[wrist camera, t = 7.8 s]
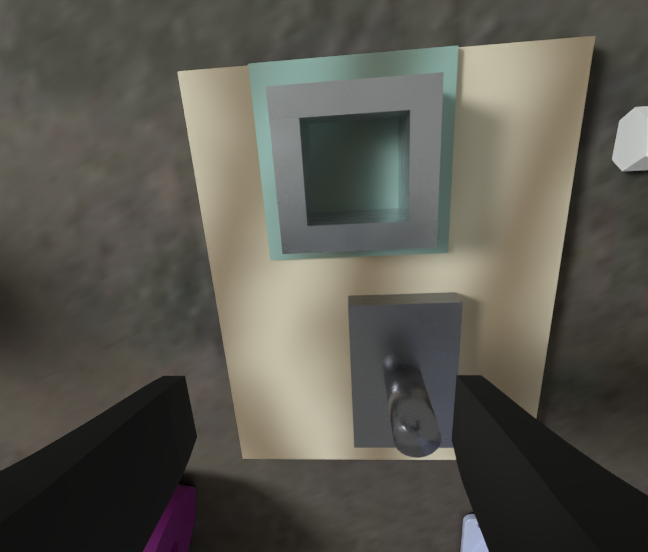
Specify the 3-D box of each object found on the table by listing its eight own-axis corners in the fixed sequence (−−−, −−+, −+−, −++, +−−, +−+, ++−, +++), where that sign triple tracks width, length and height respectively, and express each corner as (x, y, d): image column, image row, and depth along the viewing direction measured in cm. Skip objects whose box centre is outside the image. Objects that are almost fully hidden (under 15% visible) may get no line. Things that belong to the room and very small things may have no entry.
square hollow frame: (424, 87, 14) (443, 72, 11) (421, 230, 16) (436, 247, 13) (281, 98, 15) (265, 86, 12) (294, 236, 16) (282, 254, 14)
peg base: (455, 292, 17) (494, 345, 12) (447, 430, 20) (477, 517, 15) (348, 295, 18) (347, 347, 13) (353, 430, 20) (355, 514, 15)
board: (579, 43, 14) (600, 33, 13) (522, 446, 21) (532, 464, 20) (187, 76, 16) (174, 69, 15) (247, 445, 22) (241, 462, 21)
